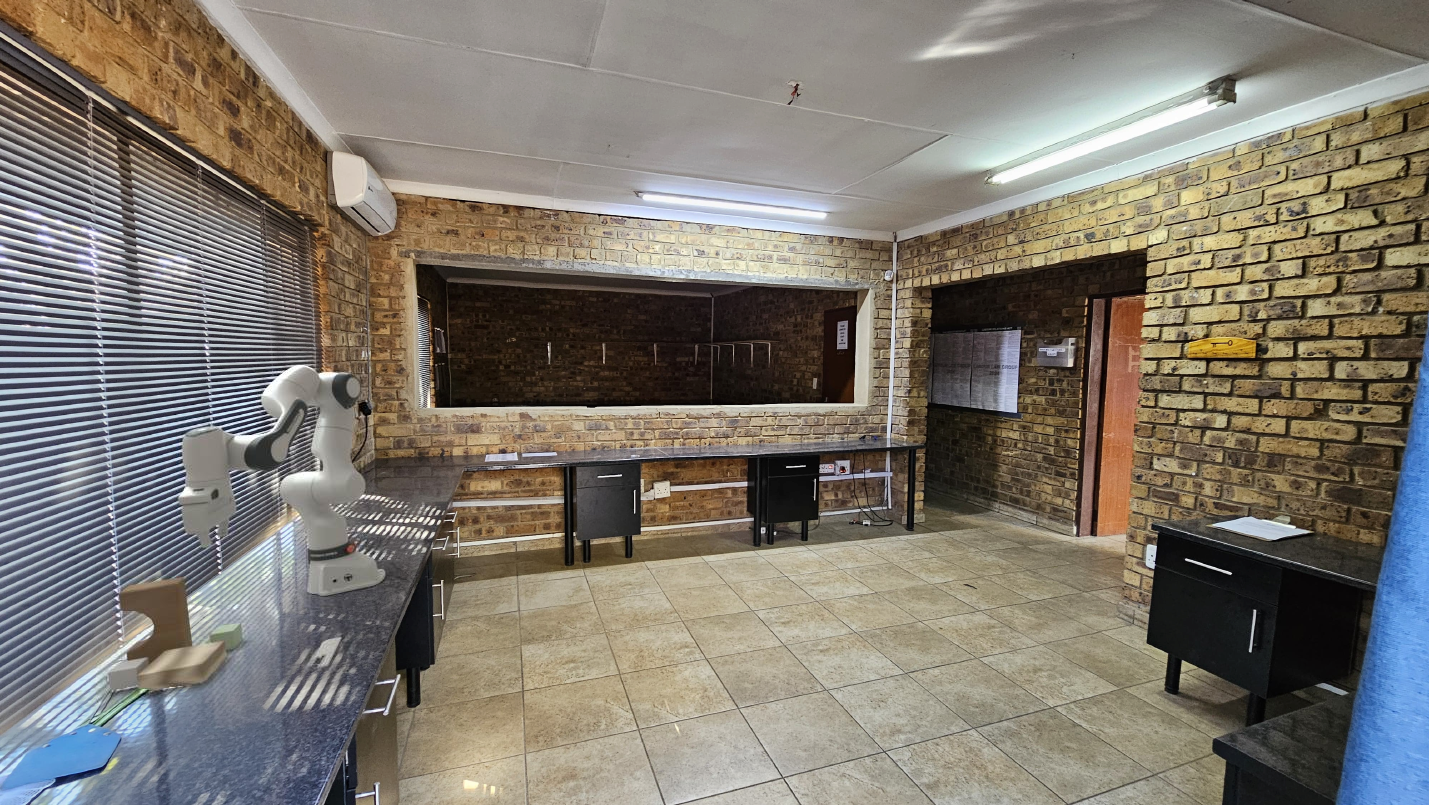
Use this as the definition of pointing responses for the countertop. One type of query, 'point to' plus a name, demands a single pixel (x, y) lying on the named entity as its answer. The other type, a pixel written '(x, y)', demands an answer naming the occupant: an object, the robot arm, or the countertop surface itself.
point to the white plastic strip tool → (327, 650)
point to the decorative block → (159, 616)
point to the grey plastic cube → (126, 673)
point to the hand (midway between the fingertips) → (215, 541)
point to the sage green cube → (228, 635)
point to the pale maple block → (182, 666)
